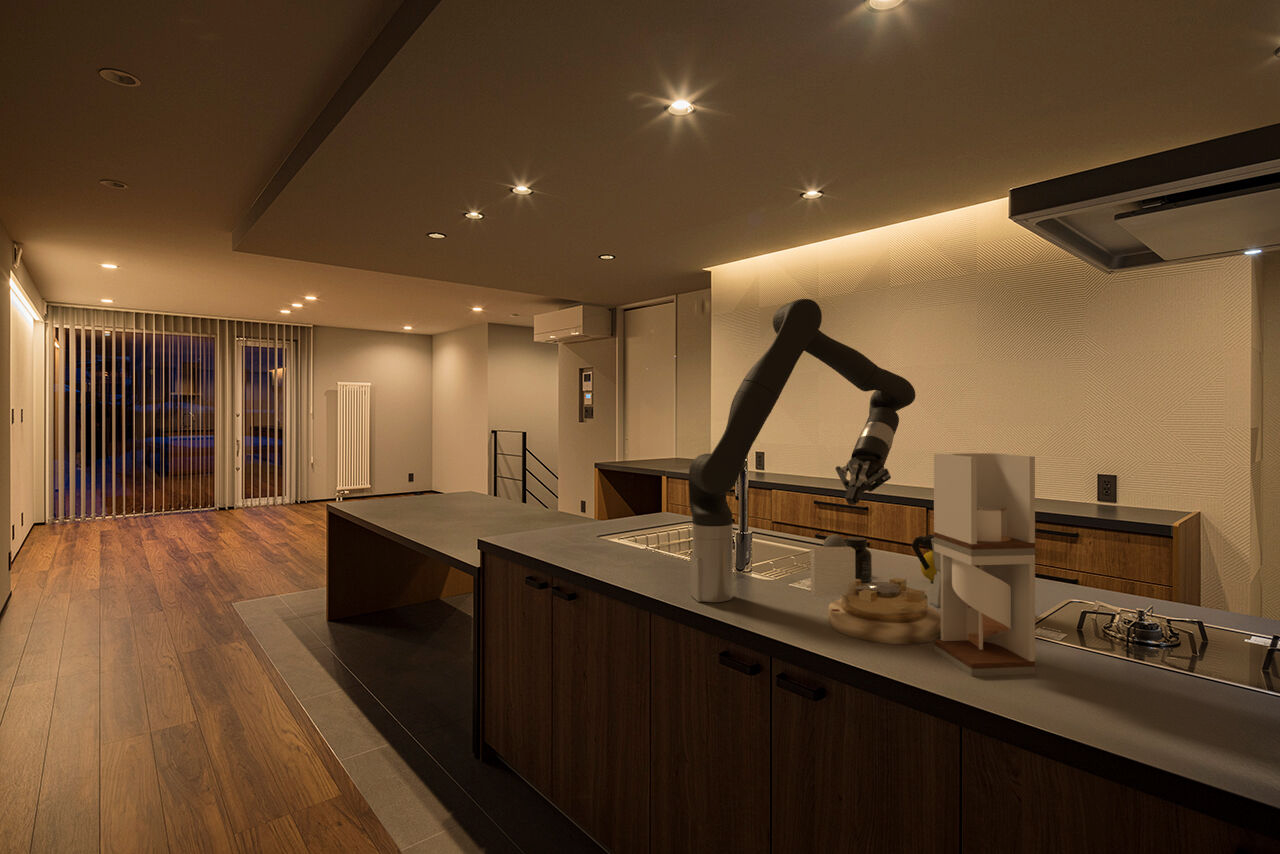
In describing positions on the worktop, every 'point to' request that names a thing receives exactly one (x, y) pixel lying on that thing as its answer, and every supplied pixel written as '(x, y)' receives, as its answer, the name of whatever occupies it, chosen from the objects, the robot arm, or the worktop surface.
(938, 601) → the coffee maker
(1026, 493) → the white tower model
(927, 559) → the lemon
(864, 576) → the supplement bottle
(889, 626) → the cap plate
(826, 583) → the gold stand with panel
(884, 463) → the robot arm
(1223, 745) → the worktop surface
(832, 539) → the light bulb
